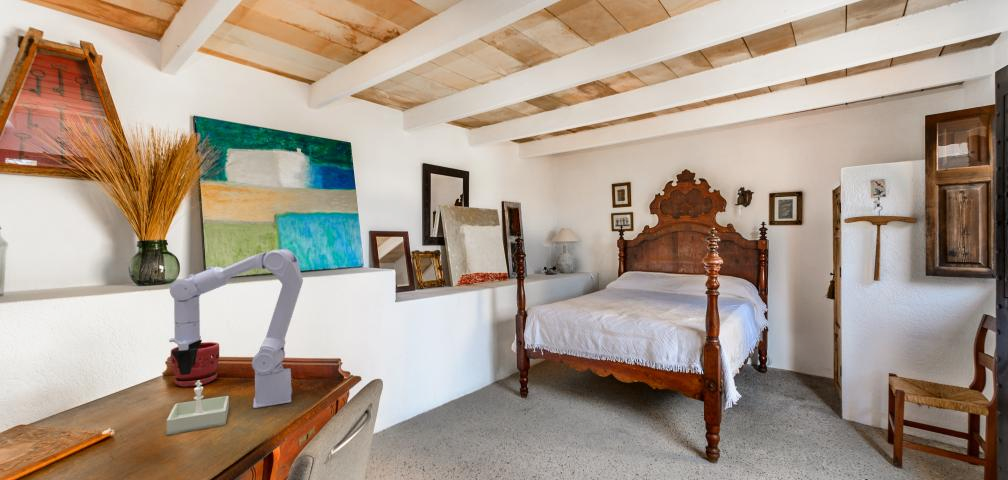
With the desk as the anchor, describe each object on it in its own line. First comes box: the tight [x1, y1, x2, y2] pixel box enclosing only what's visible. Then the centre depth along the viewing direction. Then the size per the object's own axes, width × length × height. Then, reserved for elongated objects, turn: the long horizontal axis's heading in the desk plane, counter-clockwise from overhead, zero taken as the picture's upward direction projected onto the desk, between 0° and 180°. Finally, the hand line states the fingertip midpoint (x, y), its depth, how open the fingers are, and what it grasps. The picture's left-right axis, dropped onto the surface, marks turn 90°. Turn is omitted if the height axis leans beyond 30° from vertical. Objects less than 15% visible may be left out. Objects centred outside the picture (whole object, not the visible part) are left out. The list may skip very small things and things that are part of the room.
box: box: [165, 395, 230, 436], centre depth 115 cm, size 12×12×4 cm
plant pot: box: [170, 341, 220, 387], centre depth 145 cm, size 13×13×12 cm
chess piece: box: [191, 380, 206, 416], centre depth 114 cm, size 5×5×10 cm
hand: (187, 370), depth 123 cm, fingers open, 7 cm apart
